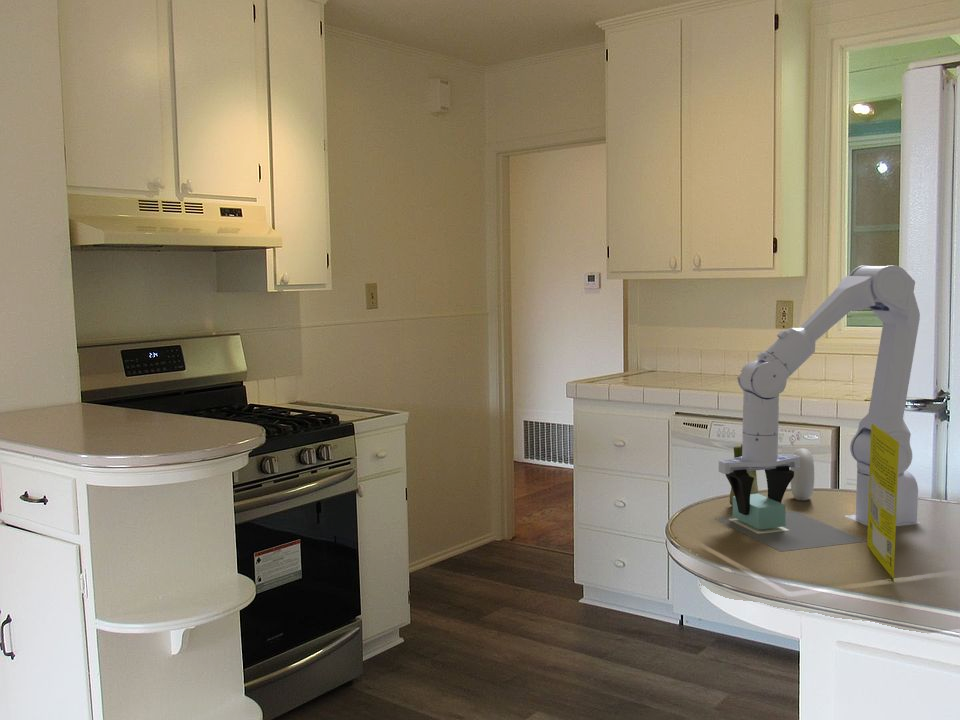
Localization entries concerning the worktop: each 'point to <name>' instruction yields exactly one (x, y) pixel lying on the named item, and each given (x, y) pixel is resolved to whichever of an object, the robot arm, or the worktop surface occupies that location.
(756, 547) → the worktop surface
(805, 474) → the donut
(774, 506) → the card box
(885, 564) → the food package
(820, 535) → the mat
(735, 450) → the fennel bulb
